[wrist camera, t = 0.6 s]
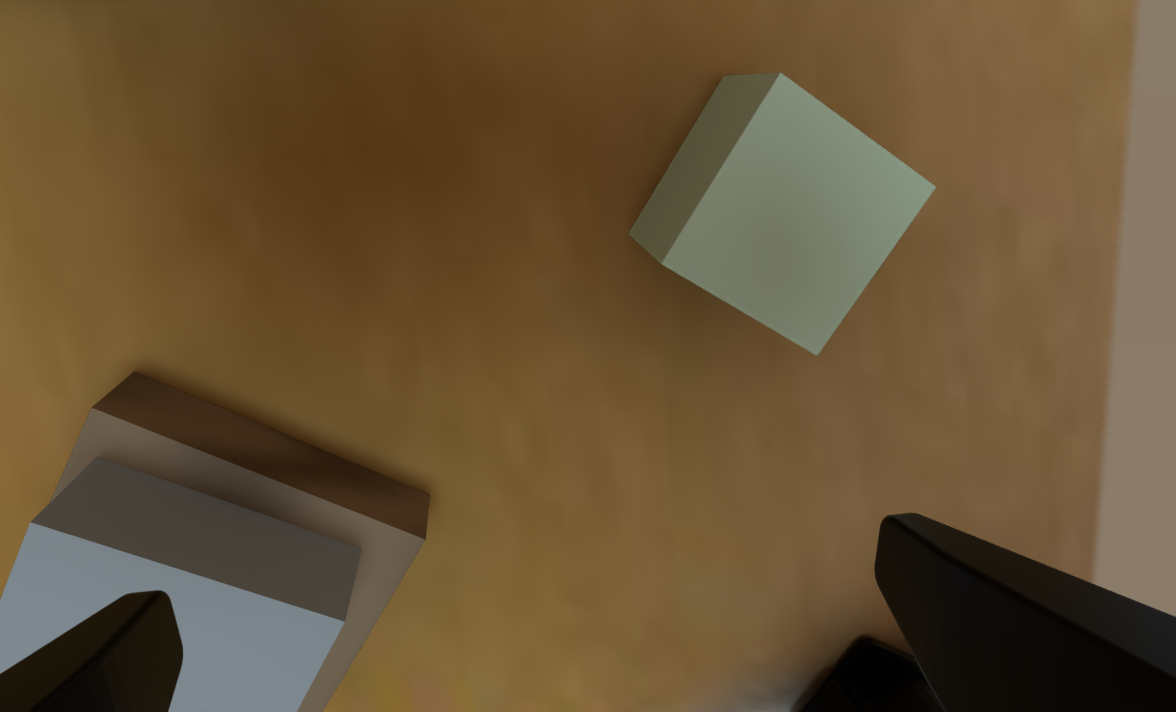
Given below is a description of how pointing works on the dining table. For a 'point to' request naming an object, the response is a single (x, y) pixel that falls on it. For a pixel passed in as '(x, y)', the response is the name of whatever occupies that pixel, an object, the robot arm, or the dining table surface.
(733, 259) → the sage green block
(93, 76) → the dining table surface
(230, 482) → the tower base block
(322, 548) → the tower top block
